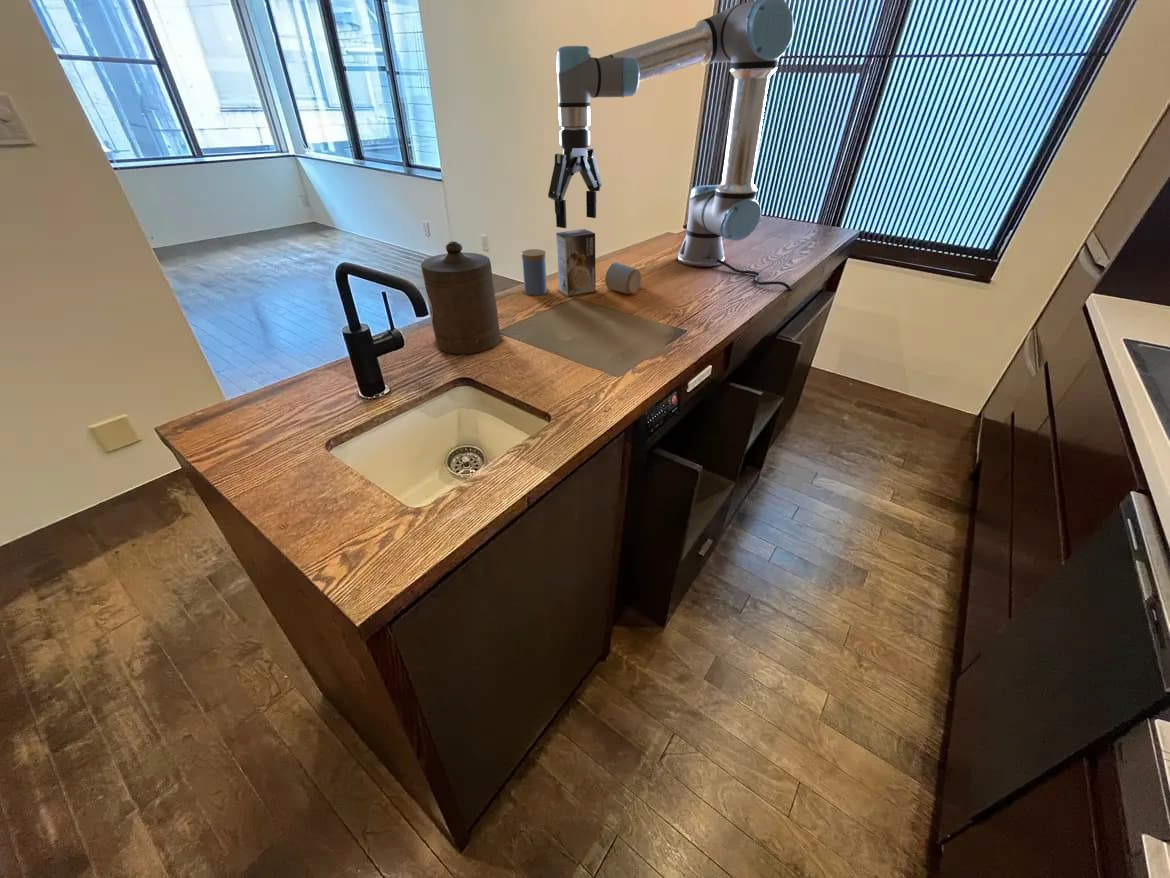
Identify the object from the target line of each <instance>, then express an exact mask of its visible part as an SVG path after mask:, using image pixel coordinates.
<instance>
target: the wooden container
mask: <svg viewBox="0 0 1170 878" xmlns="http://www.w3.org/2000/svg"><path fill="white" fill-rule="evenodd" d="M445 250H446V252H447V253H443V254H442V253H441V254H436V255H433V256H430V257H428V258H426V259H424V260H423V261H421V263H420V268H421V274H422V278H423V284H424V288H425V289H424V290H425V294H426V300H427V304H428V311H429V317H430V322H431V326H432V330H433V335H434V339H435V344H436V346H437V347H438V348H439V349H440V350H442V351H443V352H446V353H449V354H457V355H459V354H460V355H465V354H475V353H479V352H484V351H486V350H489V349H491V348H493V347H495V346H496V345H497V344H498V343H499V342H500V340H501V329H500V323H499V322H500V319H499V314H498V306H497V301H496V292H495V287H494V280H493V271H492V270H493V269H492V263H491V259H490V257H488V256H487V255H485V254H482V253H476V252H462V250H463V246H462V244H461V243H459V242H458V241H448V243H447V244H446V245H445Z"/></svg>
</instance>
